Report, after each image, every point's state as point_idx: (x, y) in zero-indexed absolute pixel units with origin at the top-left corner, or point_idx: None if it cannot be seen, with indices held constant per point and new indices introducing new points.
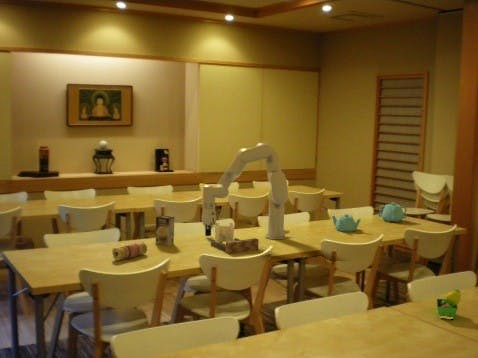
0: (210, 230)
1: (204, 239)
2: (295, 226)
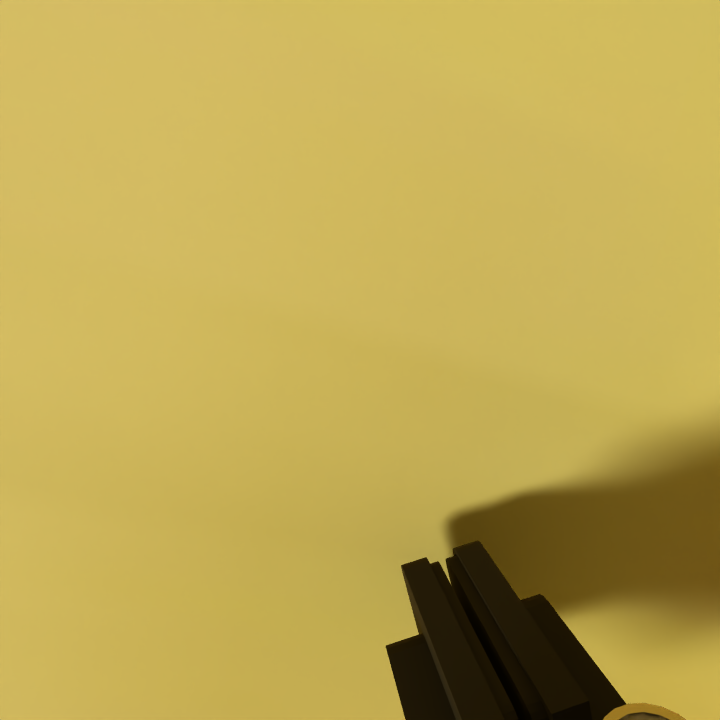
0: (619, 701)
1: None
2: None
